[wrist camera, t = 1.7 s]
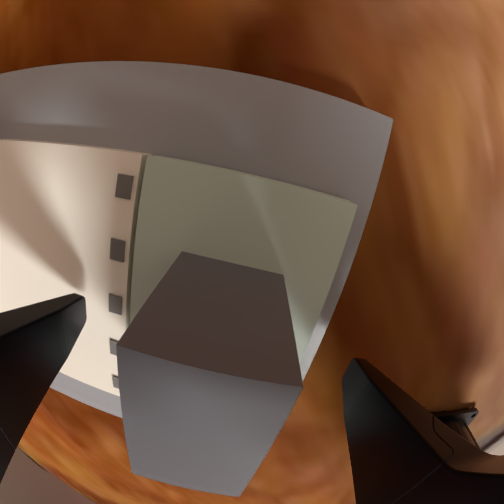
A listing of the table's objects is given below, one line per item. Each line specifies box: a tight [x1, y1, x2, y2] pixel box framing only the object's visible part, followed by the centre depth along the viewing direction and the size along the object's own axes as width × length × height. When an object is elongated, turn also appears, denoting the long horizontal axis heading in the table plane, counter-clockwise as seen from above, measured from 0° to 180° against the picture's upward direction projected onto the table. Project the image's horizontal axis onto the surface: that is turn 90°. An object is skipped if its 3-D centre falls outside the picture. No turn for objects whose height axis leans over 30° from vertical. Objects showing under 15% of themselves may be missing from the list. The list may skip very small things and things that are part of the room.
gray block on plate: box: [116, 155, 358, 497], centre depth 7 cm, size 6×10×5 cm, turn 167°
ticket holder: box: [0, 61, 393, 418], centre depth 10 cm, size 18×16×3 cm
